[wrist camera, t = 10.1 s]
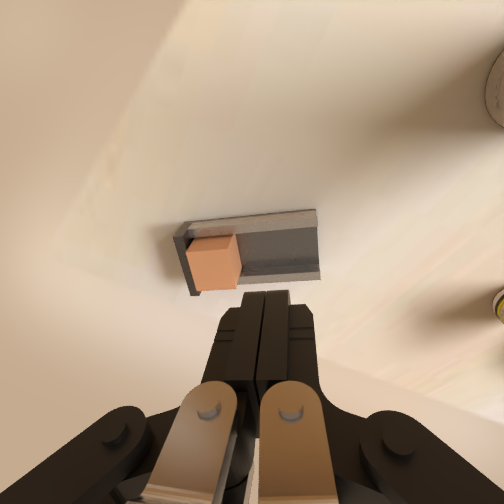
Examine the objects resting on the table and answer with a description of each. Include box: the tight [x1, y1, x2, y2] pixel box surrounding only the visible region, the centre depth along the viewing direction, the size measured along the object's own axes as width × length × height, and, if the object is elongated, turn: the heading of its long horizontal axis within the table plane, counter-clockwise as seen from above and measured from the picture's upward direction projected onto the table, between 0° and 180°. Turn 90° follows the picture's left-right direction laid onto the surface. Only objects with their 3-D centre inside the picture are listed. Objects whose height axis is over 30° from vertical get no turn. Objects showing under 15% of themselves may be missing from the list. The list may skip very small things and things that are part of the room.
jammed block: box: [186, 234, 242, 291], centre depth 38 cm, size 5×6×5 cm
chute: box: [173, 209, 321, 296], centre depth 38 cm, size 17×9×4 cm, turn 99°
